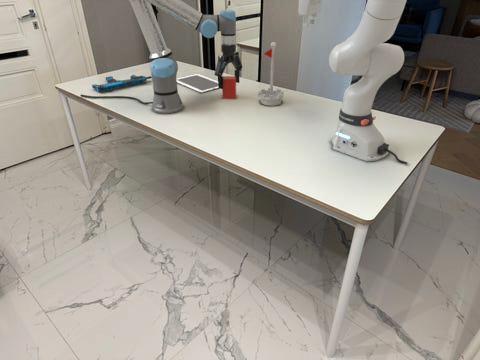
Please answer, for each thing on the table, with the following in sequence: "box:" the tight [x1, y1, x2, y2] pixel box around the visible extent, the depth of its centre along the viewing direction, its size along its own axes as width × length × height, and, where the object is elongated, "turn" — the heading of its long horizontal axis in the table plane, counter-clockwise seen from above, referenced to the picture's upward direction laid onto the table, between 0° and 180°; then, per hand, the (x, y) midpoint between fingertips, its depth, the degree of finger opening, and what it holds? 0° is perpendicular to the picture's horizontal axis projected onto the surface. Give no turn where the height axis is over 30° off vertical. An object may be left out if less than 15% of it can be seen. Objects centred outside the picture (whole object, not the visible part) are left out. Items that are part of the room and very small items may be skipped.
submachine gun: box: [91, 74, 152, 93], centre depth 206 cm, size 34×4×25 cm
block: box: [221, 75, 237, 100], centre depth 184 cm, size 5×7×11 cm
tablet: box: [176, 73, 220, 94], centre depth 207 cm, size 32×20×1 cm, turn 41°
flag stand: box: [258, 41, 285, 107], centre depth 172 cm, size 13×13×30 cm
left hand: (229, 85), depth 183 cm, fingers open, 13 cm apart
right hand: (308, 25), depth 151 cm, fingers open, 8 cm apart
